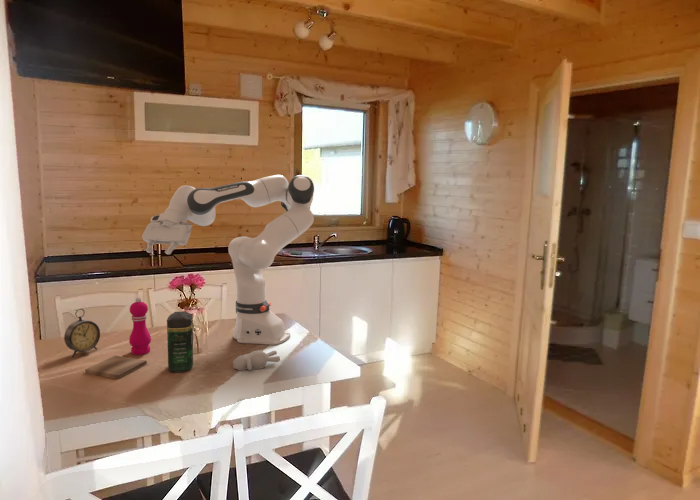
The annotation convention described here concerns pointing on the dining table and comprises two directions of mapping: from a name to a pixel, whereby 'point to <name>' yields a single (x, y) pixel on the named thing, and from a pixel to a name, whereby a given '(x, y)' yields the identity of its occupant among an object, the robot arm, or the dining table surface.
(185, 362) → the coffee jar
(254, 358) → the bunny figurine
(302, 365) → the dining table surface
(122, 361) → the walnut board
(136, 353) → the pepper mill
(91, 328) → the alarm clock
